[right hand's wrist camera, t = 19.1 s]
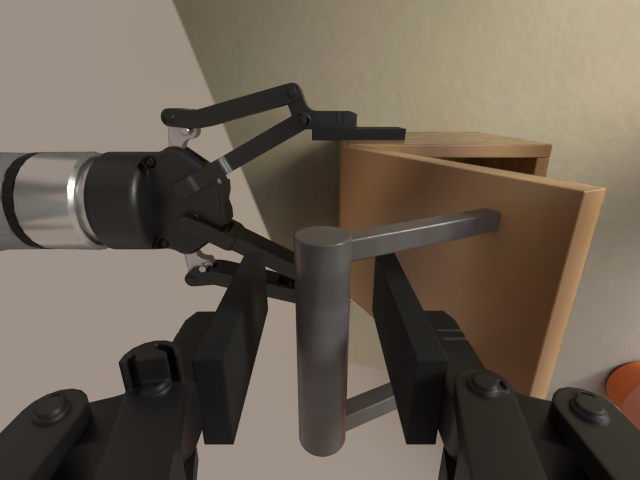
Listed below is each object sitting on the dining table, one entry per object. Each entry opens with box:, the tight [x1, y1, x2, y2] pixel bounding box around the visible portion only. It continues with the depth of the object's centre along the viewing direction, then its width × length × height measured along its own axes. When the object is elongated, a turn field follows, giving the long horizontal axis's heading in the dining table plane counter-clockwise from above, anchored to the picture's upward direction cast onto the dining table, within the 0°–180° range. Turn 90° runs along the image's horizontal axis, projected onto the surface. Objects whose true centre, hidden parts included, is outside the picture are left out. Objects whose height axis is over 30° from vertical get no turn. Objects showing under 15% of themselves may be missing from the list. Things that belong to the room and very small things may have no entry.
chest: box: [338, 132, 552, 228], centre depth 29 cm, size 13×10×11 cm
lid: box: [294, 145, 606, 457], centre depth 16 cm, size 14×10×9 cm
